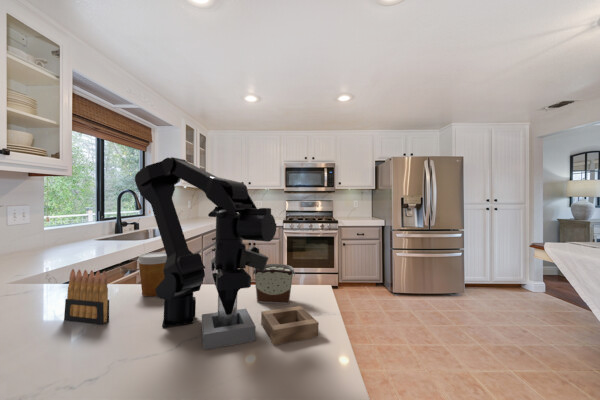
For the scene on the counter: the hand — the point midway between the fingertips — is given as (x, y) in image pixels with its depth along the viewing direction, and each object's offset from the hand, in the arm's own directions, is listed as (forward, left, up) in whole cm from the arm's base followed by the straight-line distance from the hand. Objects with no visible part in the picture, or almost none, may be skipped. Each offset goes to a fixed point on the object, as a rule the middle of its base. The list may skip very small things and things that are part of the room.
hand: (227, 310), depth 57 cm
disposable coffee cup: (-18, +35, -5) cm, 40 cm away
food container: (+16, +17, -5) cm, 24 cm away
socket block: (0, 0, -5) cm, 5 cm away
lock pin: (0, 0, -4) cm, 4 cm away
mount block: (+13, -3, -5) cm, 14 cm away
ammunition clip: (-30, +18, -5) cm, 35 cm away
